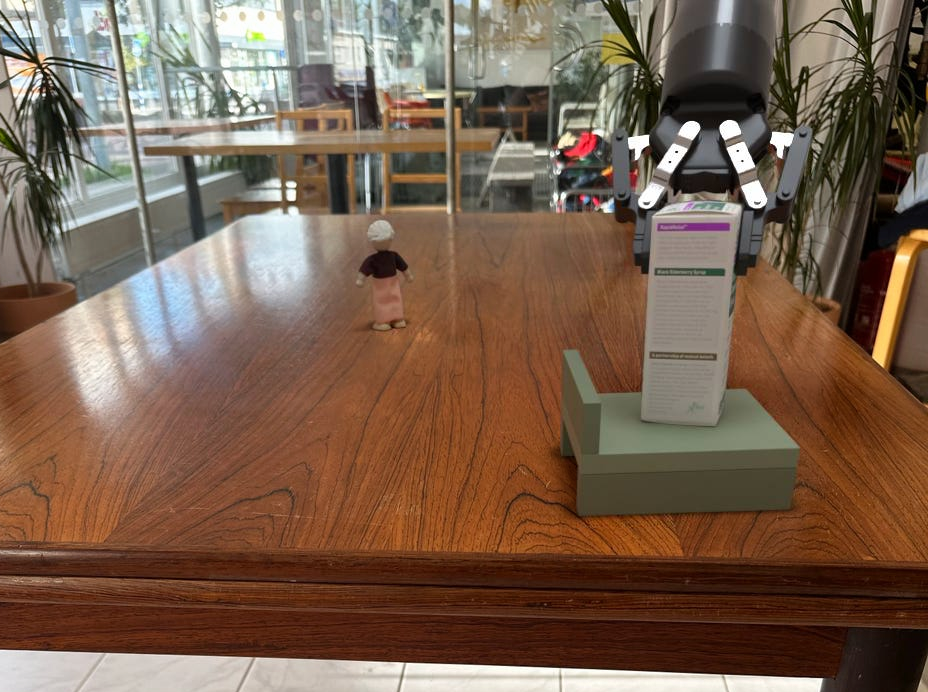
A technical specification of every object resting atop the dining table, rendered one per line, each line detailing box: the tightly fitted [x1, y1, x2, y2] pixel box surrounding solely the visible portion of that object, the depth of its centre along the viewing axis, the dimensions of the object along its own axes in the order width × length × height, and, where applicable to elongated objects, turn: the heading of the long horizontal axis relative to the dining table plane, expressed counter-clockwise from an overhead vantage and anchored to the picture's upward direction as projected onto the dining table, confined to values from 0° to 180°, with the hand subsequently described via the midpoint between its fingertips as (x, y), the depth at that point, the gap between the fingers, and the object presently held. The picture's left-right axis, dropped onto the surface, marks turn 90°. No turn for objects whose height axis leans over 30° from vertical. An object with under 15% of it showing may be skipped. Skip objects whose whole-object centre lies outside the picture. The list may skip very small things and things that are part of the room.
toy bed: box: [559, 349, 801, 517], centre depth 71 cm, size 15×14×9 cm
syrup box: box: [640, 199, 744, 426], centre depth 68 cm, size 6×6×14 cm
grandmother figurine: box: [355, 219, 415, 331], centre depth 117 cm, size 8×4×13 cm, turn 130°
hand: (694, 267), depth 65 cm, fingers closed on syrup box, 6 cm apart
